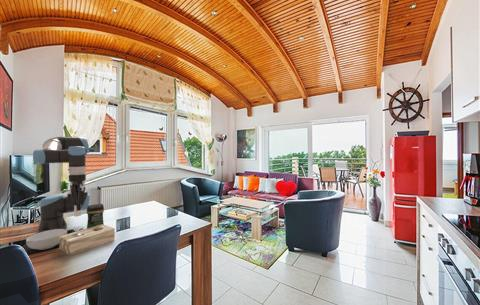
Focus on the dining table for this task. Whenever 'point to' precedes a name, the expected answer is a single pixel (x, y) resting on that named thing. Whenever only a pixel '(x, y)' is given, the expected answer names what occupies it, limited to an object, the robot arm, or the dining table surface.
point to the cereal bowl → (45, 239)
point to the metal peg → (77, 235)
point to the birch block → (86, 239)
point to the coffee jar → (95, 215)
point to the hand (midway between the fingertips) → (77, 215)
